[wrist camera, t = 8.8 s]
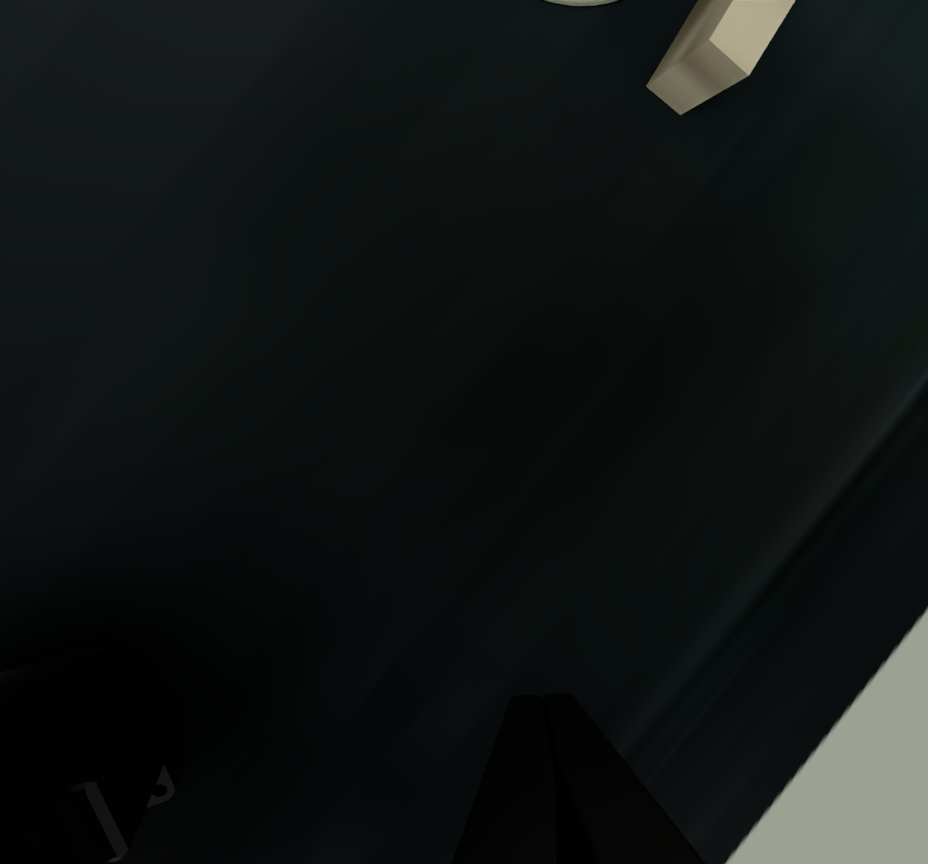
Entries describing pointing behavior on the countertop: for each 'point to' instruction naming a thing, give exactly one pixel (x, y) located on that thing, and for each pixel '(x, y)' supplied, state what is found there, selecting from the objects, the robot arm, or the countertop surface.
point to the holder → (715, 49)
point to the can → (581, 2)
